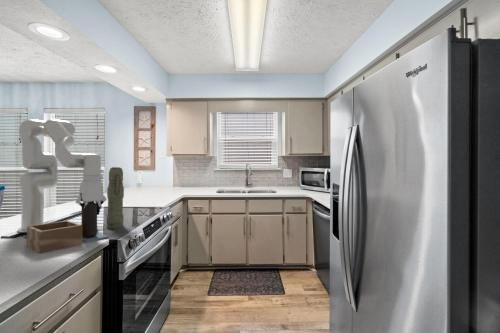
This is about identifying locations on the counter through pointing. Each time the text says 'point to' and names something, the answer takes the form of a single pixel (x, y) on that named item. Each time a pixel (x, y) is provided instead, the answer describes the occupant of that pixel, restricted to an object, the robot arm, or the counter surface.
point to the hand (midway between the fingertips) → (91, 214)
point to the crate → (54, 236)
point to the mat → (94, 238)
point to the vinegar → (89, 220)
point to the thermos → (115, 198)
